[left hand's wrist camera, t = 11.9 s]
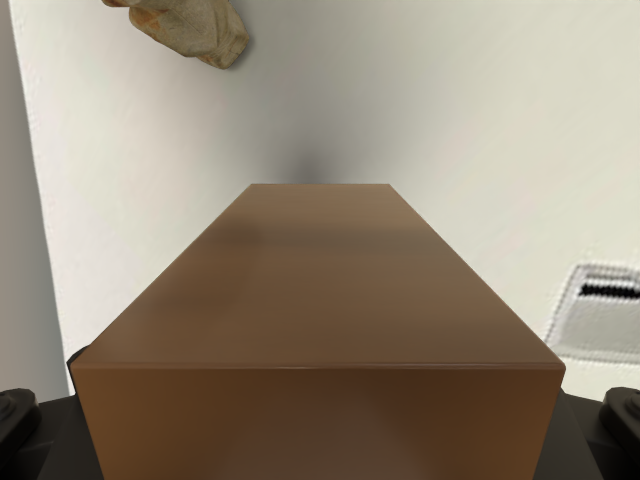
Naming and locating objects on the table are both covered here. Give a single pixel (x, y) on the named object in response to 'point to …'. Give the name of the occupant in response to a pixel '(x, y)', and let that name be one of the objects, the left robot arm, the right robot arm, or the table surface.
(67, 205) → the table surface
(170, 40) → the sculpture
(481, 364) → the box
